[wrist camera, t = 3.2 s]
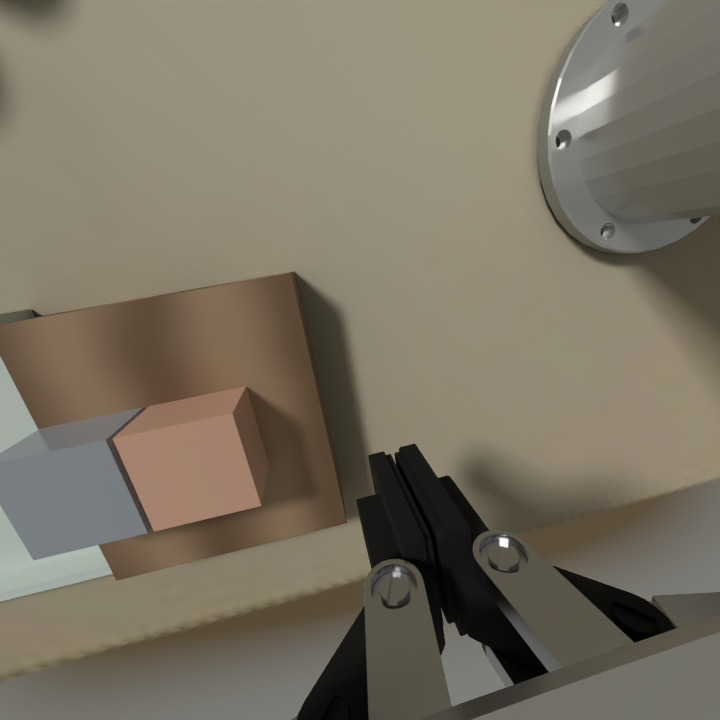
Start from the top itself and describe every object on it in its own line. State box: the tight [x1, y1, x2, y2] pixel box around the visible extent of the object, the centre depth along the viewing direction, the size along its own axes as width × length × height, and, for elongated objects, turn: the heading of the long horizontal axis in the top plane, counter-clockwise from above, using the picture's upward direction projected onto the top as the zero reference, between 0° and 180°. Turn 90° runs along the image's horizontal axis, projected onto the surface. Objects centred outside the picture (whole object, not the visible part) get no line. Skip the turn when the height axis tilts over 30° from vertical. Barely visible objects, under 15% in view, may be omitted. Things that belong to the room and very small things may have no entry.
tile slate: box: [0, 408, 152, 560], centre depth 14 cm, size 4×4×3 cm
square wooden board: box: [0, 272, 347, 580], centre depth 18 cm, size 13×14×3 cm
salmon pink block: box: [113, 386, 269, 532], centre depth 15 cm, size 4×4×3 cm
